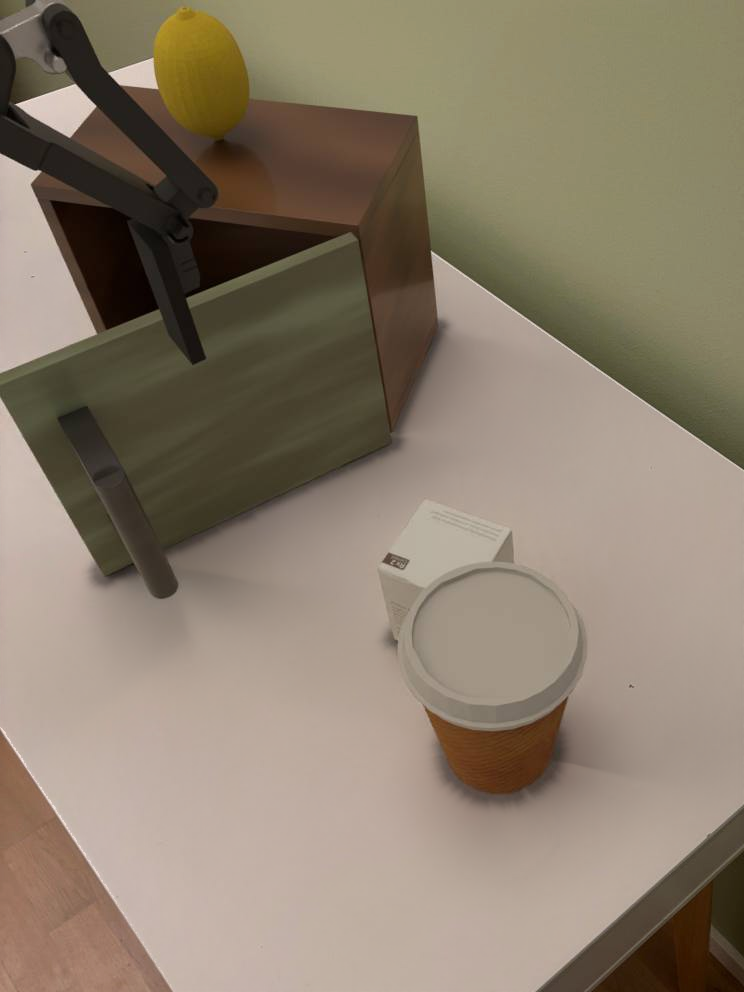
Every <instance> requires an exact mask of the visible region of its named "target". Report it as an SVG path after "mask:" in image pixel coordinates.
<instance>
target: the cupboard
mask: <svg viewBox="0 0 744 992" xmlns="http://www.w3.org/2000/svg"><path fill="white" fill-rule="evenodd" d="M119 85H120V84H119ZM120 86H121V87H122V88H123V89H124V90H125V91H126V92H127V93H128V94H129V95H130V97H131V98H132V99H133V100H134V101H135V102H136V103H137V104H138V105H139V106H140V107H141V108H142V109H143V110H144V111H145V112H146V113H147V114H148V115H149V116H150V117H151V118H152V120H153V121H154V122H155V123H156V124H157V125H158V126H159V127H160V128H161V129H162V130H163V131H164V132H165V133H166V134H167V135H168V136H169V137H170V138H171V139H172V140H173V141H174V143H175V144H176V145H177V146H178V147H179V148H180V149H181V150H182V151H183V152H184V153H185V154H186V155H187V156H188V157H189V158H190V159H191V160H192V161H193V162H194V163H195V164H196V166H197V167H198V168H199V169H200V170H201V171H202V172H203V173H204V174H205V175H206V176H207V177H208V178H209V179H210V180H211V181H212V182H213V183H214V184H215V186H216V187H217V189H218V199H217V201H216V202H215V204H214V205H212V206H211V207H209V208H200V207H199V208H198V209H197V210H196V211H195V212H194V213H193V214H192V215H191V216H190V217H189V219H188V221H189V222H190V223H191V224H192V226H193V236H192V238H191V240H190V241H189V242H190V245H191V248H192V251H193V255H194V258H195V261H196V264H197V267H198V270H199V274H200V287H199V288H196V289H194V290H192V291H190V292H187V293H185V297H186V298H188V297H190V296H193V295H195V294H198V293H200V292H203V291H205V290H208V289H210V288H213V287H215V286H218V285H220V284H223V283H225V282H228V281H230V280H233V279H235V278H238V277H240V276H243V275H245V274H247V273H250V272H252V271H255V270H257V269H260V268H262V267H265V266H267V265H270V264H272V263H275V262H277V261H280V260H282V259H285V258H287V257H290V256H292V255H295V254H297V253H300V252H302V251H305V250H307V249H309V248H312V247H314V246H317V245H319V244H322V243H324V242H327V241H329V240H332V239H334V238H337V237H339V236H342V235H344V234H347V233H349V232H351V233H352V234H353V235H354V236H355V237H356V238H357V239H358V242H359V248H360V254H361V260H362V266H363V272H364V278H365V284H366V290H367V296H368V302H369V308H370V314H371V320H372V326H373V332H374V338H375V344H376V350H377V356H378V362H379V368H380V374H381V380H382V387H383V393H384V399H385V405H386V411H387V417H388V423H389V429H390V433H392V432H393V431H394V429H395V427H396V424H397V423H398V420H399V417H400V415H401V413H402V410H403V408H404V406H405V404H406V401H407V399H408V397H409V394H410V392H411V389H412V387H413V385H414V383H415V380H416V378H417V376H418V373H419V370H420V369H421V368H422V364H423V362H424V359H425V358H426V356H427V353H428V351H429V348H430V346H431V343H432V342H433V339H434V336H435V334H436V332H437V330H438V327H439V319H438V318H439V317H438V307H437V297H436V286H435V277H434V266H433V257H432V248H431V236H430V226H429V218H428V206H427V196H426V188H425V178H424V167H423V155H422V147H421V137H420V128H419V120H418V119H419V117H418V115H412V114H402V113H394V112H383V111H374V110H373V111H372V110H366V109H365V110H364V109H354V108H346V107H345V108H344V107H334V106H325V105H317V104H308V103H307V104H306V103H295V102H288V101H277V100H266V99H258V98H249V100H248V106H247V110H246V112H245V115H244V116H243V118H242V120H241V121H240V123H239V124H238V125H237V126H236V127H235V128H234V129H232V130H231V131H229V132H228V133H226V135H225V136H224V138H223V139H222V140H218V141H217V140H214V139H212V138H210V137H209V136H201V135H198V134H195V133H193V132H191V131H189V130H187V129H186V128H184V127H183V126H182V125H181V124H179V123H178V122H177V121H176V120H175V119H174V118H173V116H172V115H171V114H170V112H169V110H168V109H167V107H166V105H165V103H164V101H163V99H162V97H161V94H160V92H159V89H158V88H150V87H142V86H132V85H131V86H130V85H120ZM79 126H80V127H79ZM79 126H78V127H79V128H78V127H77V128H78V129H77V128H76V129H77V130H76V131H75V132H74V131H73V134H72V135H71V136H70V137H69V138H71V139H73V140H74V141H76V142H78V143H80V144H82V145H83V146H85V147H87V148H89V149H90V150H92V151H94V152H96V153H98V154H99V155H101V156H103V157H105V158H107V159H108V160H110V161H112V162H114V163H115V164H117V165H119V166H121V167H123V168H124V169H126V170H128V171H130V172H131V173H133V174H135V175H137V176H139V177H140V178H142V179H144V180H146V181H147V182H149V183H151V184H153V185H155V186H156V185H157V184H158V183H159V182H160V181H162V180H163V179H164V178H165V177H166V175H165V174H164V173H163V172H162V171H161V170H160V169H159V168H158V167H157V166H156V165H155V164H154V163H153V162H152V161H151V160H150V159H149V158H148V157H147V156H146V155H145V154H144V153H143V152H142V151H141V150H140V149H139V148H138V147H137V146H136V145H135V144H134V143H133V142H132V141H131V140H130V139H129V138H128V137H127V136H126V135H125V134H124V133H123V132H122V131H121V130H120V129H119V128H118V127H117V126H116V125H115V124H114V123H113V122H112V121H111V120H110V119H109V118H108V117H107V116H106V115H105V114H104V113H103V112H102V111H101V110H100V109H99V108H98V107H97V106H96V105H95V108H93V110H92V111H91V112H90V113H89V114H88V116H87V117H86V118H85V119H84V121H83V122H82V123H81V124H80V125H79ZM30 187H31V190H32V191H33V194H34V196H35V198H36V200H37V202H38V204H39V207H40V209H41V211H42V214H43V216H44V218H45V220H46V223H47V224H48V225H47V226H48V227H49V229H50V232H51V233H52V236H53V238H54V240H55V243H56V245H57V248H58V250H59V252H60V254H61V256H62V258H63V261H64V263H65V265H66V267H67V270H68V272H69V274H70V277H71V279H72V281H73V283H74V285H75V289H76V291H77V292H78V294H79V297H80V300H81V301H82V304H83V306H84V308H85V310H86V313H87V315H88V317H89V319H90V322H91V324H92V326H93V328H94V331H95V333H96V334H99V333H101V332H104V331H106V330H109V329H111V328H114V327H116V326H119V325H121V324H123V323H126V322H128V321H131V320H133V319H136V318H138V317H141V316H143V315H146V314H148V313H151V312H153V311H156V310H158V309H159V307H158V304H157V302H156V299H155V296H154V294H153V291H152V288H151V285H150V283H149V280H148V277H147V275H146V272H145V269H144V266H143V264H142V261H141V258H140V256H139V253H138V250H137V247H136V245H135V242H134V239H133V236H132V234H131V231H130V228H129V226H128V223H127V221H129V220H131V219H133V218H131V217H129V216H127V215H125V214H123V213H121V212H119V211H117V210H115V209H113V208H111V207H109V206H108V205H106V204H104V203H102V202H100V201H98V200H96V199H94V198H92V197H90V196H88V195H86V194H84V193H82V192H81V191H79V190H77V189H75V188H73V187H71V186H69V185H67V184H65V183H63V182H61V181H59V180H57V179H55V178H54V177H52V176H50V175H48V174H46V173H44V172H42V171H40V172H39V173H38V175H37V176H36V177H35V178H34V179H33V181H32V182H31V183H30Z"/></svg>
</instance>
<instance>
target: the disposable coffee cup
mask: <svg viewBox="0 0 744 992" xmlns="http://www.w3.org/2000/svg"><path fill="white" fill-rule="evenodd" d="M588 645H589V643H588V634H587V631H586V626H585V624H584V622H583V619H582V616H581V615H580V612H579V611H578V609H577V608H576V607H575V605H574V604H573V603H572V602H571V600H570V599H569V597H568V595H567V594H566V593H565V592H564V591H563V590H562V588H561V587H559V585H558V584H557V583H555V582H554V581H553V580H552V579H550V578H549V577H547V576H546V575H544V574H542V572H539V571H537V570H535V569H532V568H530V567H528V566H526V565H522V564H516V563H514V564H513V563H507V562H481V563H475V564H469V565H466V566H462V567H459V568H456V569H454V570H452V571H450V572H447V573H445V574H444V575H442V576H440V577H439V578H437V579H436V580H434V581H433V582H432V583H431V584H430V585H429V586H427V587H426V588H425V589H424V590H423V591H422V592H421V594H420V595H419V596H418V598H417V599H416V600H415V602H414V604H413V605H412V607H411V609H410V611H409V613H408V615H407V616H406V618H405V620H404V622H403V625H402V628H401V630H400V633H399V639H398V641H397V646H396V648H397V662H398V667H399V669H400V673H401V676H402V678H403V681H404V684H405V685H406V687H407V688H408V689H409V691H410V692H411V694H412V695H413V697H414V698H415V699H416V700H417V701H418V702H419V703H420V704H421V705H422V706H423V708H424V711H425V713H426V715H427V717H428V719H429V722H430V725H431V726H432V729H433V731H434V733H435V736H436V737H437V740H438V742H439V743H440V746H441V748H442V751H443V752H444V755H445V757H446V760H447V762H448V765H449V767H450V769H451V770H452V771H453V773H454V775H455V776H456V777H457V778H458V779H459V780H460V781H461V782H462V783H464V784H465V785H467V786H468V787H470V788H472V789H475V790H477V791H479V792H483V793H488V794H491V795H492V794H496V795H501V794H510V793H515V792H519V791H521V790H523V789H524V788H526V787H528V786H530V785H532V784H534V782H536V781H538V779H539V778H540V777H541V776H542V775H543V774H544V772H545V771H546V769H547V767H548V765H549V763H550V762H551V760H552V756H553V751H554V747H555V744H556V741H557V737H558V734H559V730H560V727H561V723H562V720H563V717H564V713H565V710H566V707H567V703H568V700H569V696H570V695H571V694H572V693H573V692H574V690H575V688H576V686H577V684H578V683H579V681H580V680H581V678H582V675H583V672H584V669H585V665H586V662H587V659H588V658H587V657H588Z"/></svg>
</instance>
